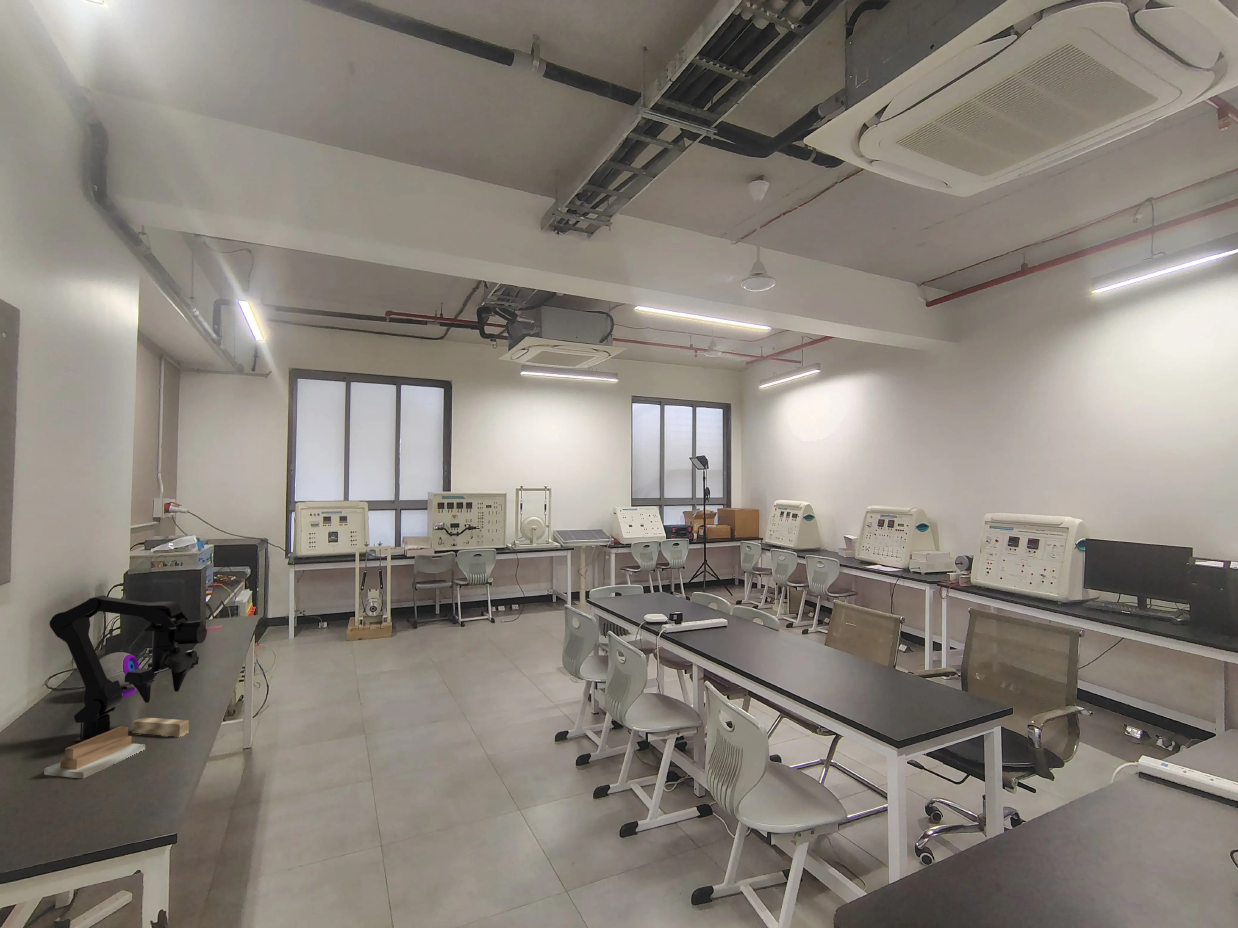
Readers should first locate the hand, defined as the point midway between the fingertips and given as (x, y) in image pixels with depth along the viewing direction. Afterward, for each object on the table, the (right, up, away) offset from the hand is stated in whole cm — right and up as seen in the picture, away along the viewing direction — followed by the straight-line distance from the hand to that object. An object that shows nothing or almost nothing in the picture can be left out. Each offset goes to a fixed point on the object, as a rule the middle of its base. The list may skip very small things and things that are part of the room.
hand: (162, 696), depth 169 cm
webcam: (-42, -12, +30) cm, 54 cm away
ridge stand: (-3, -10, -18) cm, 21 cm away
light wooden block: (0, -11, 0) cm, 11 cm away
